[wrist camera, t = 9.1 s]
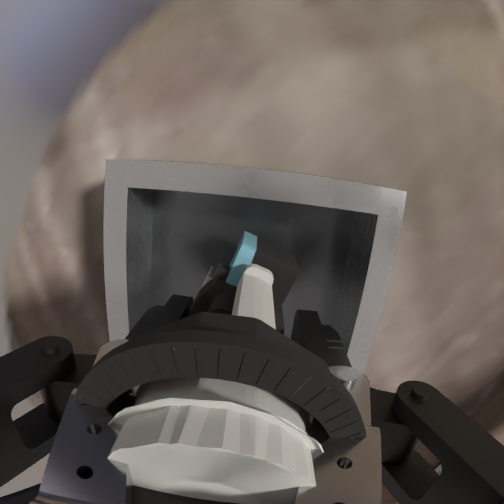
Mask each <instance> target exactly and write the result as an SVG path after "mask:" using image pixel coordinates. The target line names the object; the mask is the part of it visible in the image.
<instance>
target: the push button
mask: <svg viewBox="0 0 504 504" xmlns="http://www.w3.org/2000/svg"><path fill="white" fill-rule="evenodd" d="M212 269H213V266H211V268H210V270H209V272H208V274H207V276H206V279H205V281H204V283H203V286H202V288H201V290H200V291H199V292H198V294H197V296H196V298H195V300H194V302H193V304H192V306H191V308H190V311H189V314H188V317H186V318H183V319H181V320H178V321H175V322H173V323H170V324H167V325H165V326H162V327H159V328H156V329H154V330H151V331H148V332H146V333H143V334H140V335H137V336H135V337H132V338H131V339H129V340H128V342H125V343H124V344H122V345H120V346H118V347H116V348H114V349H112V350H111V351H110V352H108V353H107V354H105V355H104V356H103V357H102V358H101V359H100V360H99V361H98V362H97V363H96V364H95V365H94V366H93V367H92V368H91V370H90V371H89V372H88V374H87V375H86V376H85V378H84V379H83V381H82V382H81V383H80V385H79V387H78V389H77V392H76V394H75V398H74V400H78V401H81V402H84V403H87V404H89V405H91V406H93V405H94V406H97V407H101V408H104V409H107V408H108V407H109V405H110V404H111V402H113V401H114V400H115V399H116V398H117V397H118V396H119V395H121V394H122V393H124V392H125V391H127V390H129V389H131V388H134V387H136V386H138V385H140V386H139V388H138V390H137V391H136V393H135V394H138V397H137V400H136V403H135V406H132V407H128V408H125V409H123V410H122V411H120V412H119V413H117V414H116V415H115V416H114V417H113V419H112V420H111V421H110V422H109V423H108V425H109V424H110V423H118V424H121V425H123V427H122V429H121V431H120V433H119V435H118V437H117V439H116V441H115V443H114V445H113V447H112V449H111V452H110V454H109V456H108V459H112V460H115V461H119V462H122V463H126V464H128V466H129V470H130V473H131V477H132V480H133V485H135V486H139V487H143V488H147V489H151V490H156V491H160V492H165V493H170V494H175V495H180V496H186V497H191V498H198V499H205V500H212V501H220V502H229V503H240V504H292V502H293V499H294V497H295V495H296V493H297V490H298V488H299V486H316V481H315V474H314V468H313V462H312V455H311V449H320V450H321V451H322V452H324V451H323V448H322V446H321V445H320V444H319V443H318V442H317V441H316V440H315V439H314V438H312V437H311V436H309V434H310V418H309V413H310V414H312V415H313V416H314V417H315V418H316V419H317V420H318V421H319V422H320V423H321V424H322V426H323V427H324V428H325V430H326V431H327V433H328V435H329V437H330V438H343V437H346V438H352V437H365V436H366V429H365V426H364V423H363V420H362V417H361V414H360V411H359V409H358V406H357V404H356V402H355V400H354V399H353V397H352V395H351V394H350V393H349V391H348V390H347V388H346V387H345V386H344V385H343V384H342V383H341V382H340V381H339V380H338V379H337V378H336V377H335V376H334V375H333V374H332V373H331V371H330V369H329V366H328V365H327V363H326V362H325V361H324V360H323V359H321V358H320V357H318V356H316V355H315V354H313V353H312V352H310V351H308V350H307V349H305V348H304V347H302V346H300V345H299V344H297V343H296V342H294V341H293V340H291V339H290V338H288V337H286V336H285V335H284V317H283V310H282V305H283V303H284V301H285V299H286V297H287V295H288V293H289V291H290V289H291V288H292V286H293V284H294V282H295V280H296V278H297V275H298V272H299V267H298V264H297V262H296V259H295V256H294V254H293V252H291V251H289V250H287V249H285V248H282V247H280V246H278V245H276V244H273V243H271V242H269V241H267V240H264V239H262V238H260V237H258V236H255V235H253V234H251V233H249V232H246V231H244V233H243V235H242V237H241V239H240V242H239V244H238V248H237V250H236V252H235V255H234V257H233V259H232V261H231V264H230V266H227V265H224V264H222V263H219V265H218V268H217V270H216V272H215V275H214V277H213V278H210V277H209V276H210V274H211V271H212Z"/></svg>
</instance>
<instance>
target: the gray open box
mask: <svg viewBox="0 0 504 504" xmlns="http://www.w3.org/2000/svg"><path fill="white" fill-rule="evenodd" d="M406 193H407V192H405V191H401V190H396V189H391V188H387V187H382V186H376V185H371V184H365V183H359V182H353V181H347V180H341V179H335V178H328V177H321V176H314V175H307V174H300V173H292V172H284V171H276V170H267V169H258V168H249V167H239V166H228V165H217V164H204V163H190V162H174V161H154V160H106V169H105V187H104V225H103V238H104V276H105V294H106V308H107V320H108V330H109V340H110V341H113V340H120V339H125V338H126V336H127V335H128V334H129V333H130V331H131V330H132V329H133V327H134V326H135V325H136V324H137V322H138V321H139V320H140V318H142V316H143V315H144V313H145V312H146V311H147V310H148V309H150V308H152V307H154V306H156V305H161V306H165V304H166V303H167V301H168V300H169V299H170V297H171V296H172V295H173V294H175V295H183V296H190V297H193V299H194V300H195V298H196V296H197V294H198V292H199V291H200V290H201V288H202V286H203V283H204V281H205V279H206V276H207V274H208V272H209V270H210V268H211V266H213V269H212V271H211V274H210V276H209V277H210V278H213V277H214V275H215V272H216V270H217V268H218V265H219V263H222V264H224V265H227V266H230V264H231V261H232V259H233V257H234V255H235V252H236V250H237V248H238V244H239V242H240V239H241V237H242V235H243V233H244V231H246V232H249V233H251V234H253V235H255V236H258V237H260V238H262V239H264V240H267V241H269V242H271V243H273V244H276V245H278V246H280V247H282V248H285V249H287V250H289V251H291V252H293V254H294V256H295V259H296V262H297V264H298V267H299V272H298V275H297V278H296V280H295V282H294V284H293V286H292V288H291V289H290V291H289V293H288V295H287V297H286V299H285V301H284V303H283V305H282V310H283V317H284V335H285V336H286V337H288V338H290V339H291V333H292V328H293V322H294V317H295V312H296V310H297V309H300V310H310V311H317V312H318V315H319V318H320V321H321V324H322V325H330V326H331V327H332V328H334V329H335V330H336V331H337V332H338V333H339V336H340V338H341V342H342V343H343V346H344V349H345V351H346V353H347V356H348V358H349V361H350V363H351V366H352V368H354V369H357V370H359V371H360V372H362V373H364V370H365V367H366V364H367V361H368V358H369V355H370V351H371V348H372V345H373V342H374V338H375V335H376V332H377V328H378V325H379V321H380V317H381V314H382V310H383V306H384V302H385V299H386V295H387V291H388V286H389V282H390V278H391V274H392V269H393V265H394V260H395V255H396V251H397V246H398V241H399V235H400V230H401V224H402V219H403V213H404V206H405V200H406Z"/></svg>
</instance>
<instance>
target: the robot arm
mask: <svg viewBox="0 0 504 504" xmlns="http://www.w3.org/2000/svg"><path fill="white" fill-rule="evenodd" d="M193 302H194V299H193V297H190V296H183V295H175V294H173V295H172V296H171V297H170V299H169V300H168V301H167V303H166V304H165V306H161V305H156V306H154V307H152V308H150V309H148V310H147V311H146V312H145V313H144V315H143V316H142V318H140V320H139V321H138V322H137V324H136V325H135V326H134V327H133V329H132V330H131V331H130V333H129V334H128V335H127V336H126V338H125V339H120V340H113V341H110V342H107V343H106V344H104V345H103V346H102V347H101V348H100V349H99V352H98V354H97V355H84V354H74V352H73V347H72V344H71V343H70V341H68V340H67V339H65V338H62V337H57V336H49V337H43V338H40V339H38V340H36V341H33V342H31V343H29V344H27V345H25V346H23V347H21V348H19V349H17V350H14V351H12V352H10V353H8V354H6V355H4V356H2V357H0V487H1V486H3V485H4V484H6V483H7V482H9V481H10V480H11V479H13V478H14V477H16V476H17V475H19V474H20V473H22V472H23V471H24V470H26V469H27V468H29V467H30V466H32V465H33V464H35V463H36V462H37V461H39V460H40V459H42V458H43V457H44V456H46V455H47V454H49V453H50V455H49V458H48V461H47V465H46V468H45V471H44V475H43V478H42V482H41V483H40V484H37V485H35V486H32V487H29V488H26V489H24V490H21V491H18V492H15V493H12V494H9V495H6V496H3V497H0V504H240V503H229V502H220V501H212V500H205V499H198V498H191V497H186V496H180V495H175V494H170V493H165V492H160V491H156V490H151V489H147V488H143V487H139V486H135V485H133V480H132V477H131V473H130V470H129V466H128V464H126V463H122V462H119V461H115V460H112V459H108V456H109V454H110V452H111V449H112V447H113V445H114V443H115V441H116V439H117V437H118V435H119V433H120V431H121V429H122V427H123V425H121V424H118V423H110V424H109V425H108V423H109V422H110V421H111V420H112V419H113V417H114V416H115V415H116V414H117V413H119V412H120V411H122V410H123V409H125V408H128V407H132V406H135V403H136V400H137V397H138V394H135V393H136V391H137V390H138V388H139V386H140V385H138V386H136V387H134V388H131V389H129V390H127V391H125V392H124V393H122V394H121V395H119V396H118V397H117V398H116V399H115V400H114V401H113V402H111V404H110V405H109V407H108V408H107V409H104V408H101V407H97V406H94V405H93V406H91V405H89V404H87V403H84V402H81V401H78V400H74V398H75V394H76V392H77V389H78V387H79V385H80V383H81V382H82V381H83V379H84V378H85V376H86V375H87V374H88V372H89V371H90V370H91V368H92V367H93V366H94V365H95V364H96V363H97V362H98V361H99V360H100V359H101V358H102V357H103V356H104V355H105V354H107V353H108V352H110V351H111V350H112V349H114V348H116V347H118V346H120V345H122V344H124V343H125V342H128V340H129V339H131V338H132V337H135V336H137V335H140V334H143V333H146V332H148V331H151V330H154V329H156V328H159V327H162V326H165V325H167V324H170V323H173V322H175V321H178V320H181V319H183V318H186V317H188V314H189V311H190V308H191V306H192V304H193ZM291 340H293V341H294V342H296V343H297V344H299V345H300V346H302V347H304V348H305V349H307V350H308V351H310V352H312V353H313V354H315V355H316V356H318V357H320V358H321V359H323V360H324V361H325V362H326V363H327V365H328V366H329V369H330V371H331V373H332V374H333V375H334V376H335V377H336V378H337V379H338V380H339V381H340V382H341V383H342V384H343V385H344V386H345V387H346V388H347V390H348V391H349V393H350V394H351V395H352V397H353V399H354V400H355V402H356V404H357V406H358V409H359V411H360V414H361V417H362V420H363V423H364V426H365V429H366V436H365V437H352V438H346V437H343V438H330V437H329V435H328V433H327V431H326V430H325V428H324V427H323V426H322V424H321V423H320V422H319V421H318V420H317V419H316V418H315V417H314V416H313V415H312V414H310V413H309V418H310V434H309V436H311V437H312V438H314V439H315V440H316V441H317V442H318V443H319V444H320V445H321V446H322V448H323V451H324V452H322V451H321V450H320V449H311V455H312V462H313V468H314V474H315V481H316V486H299V488H298V490H297V493H296V495H295V497H294V499H293V502H292V504H381V496H382V483H383V484H384V485H385V486H386V488H387V489H388V490H389V491H390V493H391V494H392V495H393V496H394V498H395V499H396V500H397V501H398V502H399V504H504V446H503V445H502V444H501V443H500V442H498V441H497V440H496V439H495V438H494V437H493V436H491V435H490V434H489V433H488V432H487V431H485V430H484V429H483V428H482V427H481V426H480V425H478V424H477V423H476V422H475V421H474V420H472V419H471V418H470V417H469V416H468V415H466V414H465V413H464V412H463V411H462V410H460V409H459V408H458V407H457V406H456V405H455V404H453V403H452V402H451V401H450V400H449V399H447V398H446V397H445V396H444V395H443V394H441V393H440V392H439V391H438V390H437V389H435V388H434V387H433V386H431V385H429V384H427V383H424V382H420V381H407V382H404V383H402V384H401V385H400V386H399V387H398V389H397V392H396V393H391V392H386V391H381V390H376V389H373V388H371V387H370V383H369V380H368V378H367V377H366V376H365V375H364V374H363V373H362V372H360V371H359V370H357V369H354V368H352V366H351V363H350V361H349V358H348V356H347V353H346V351H345V349H344V346H343V343H342V342H341V338H340V336H339V333H338V332H337V331H336V330H335V329H334V328H332V327H331V326H330V325H322V324H321V321H320V318H319V315H318V312H317V311H310V310H300V309H297V310H296V312H295V317H294V322H293V328H292V333H291ZM39 390H40V392H41V395H42V398H43V401H44V403H42V404H41V405H39V406H37V407H36V408H34V409H33V410H31V411H29V412H28V413H26V414H25V415H23V416H21V417H19V418H18V419H16V420H14V421H12V418H11V411H12V409H13V407H14V406H15V405H16V404H17V403H19V402H20V401H22V400H24V399H26V398H27V397H29V396H31V395H33V394H34V393H36V392H38V391H39ZM420 442H422V443H423V444H424V445H425V446H426V447H427V448H428V449H429V450H430V451H431V452H432V453H433V454H434V455H435V456H436V457H437V458H438V459H439V461H440V463H441V466H442V471H441V474H440V475H439V474H438V473H437V472H436V471H435V470H434V469H433V468H432V467H431V466H430V465H429V464H428V463H427V462H426V461H425V460H424V459H423V458H422V457H421V455H420V454H419V453H418V452H417V451H416V448H417V447H418V445H419V443H420Z"/></svg>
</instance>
